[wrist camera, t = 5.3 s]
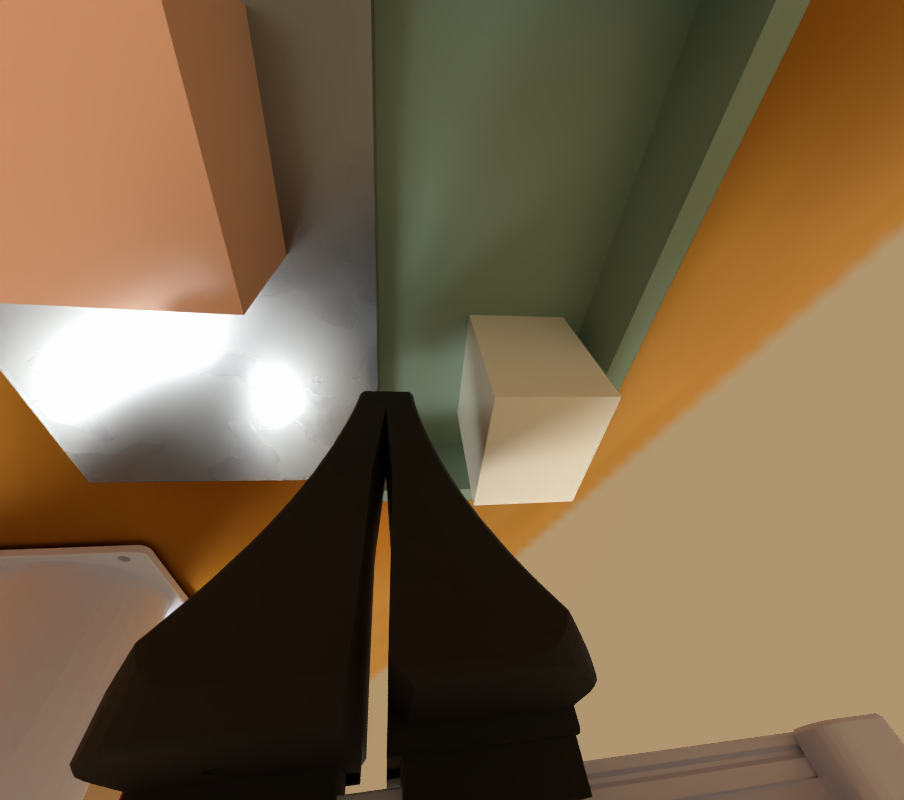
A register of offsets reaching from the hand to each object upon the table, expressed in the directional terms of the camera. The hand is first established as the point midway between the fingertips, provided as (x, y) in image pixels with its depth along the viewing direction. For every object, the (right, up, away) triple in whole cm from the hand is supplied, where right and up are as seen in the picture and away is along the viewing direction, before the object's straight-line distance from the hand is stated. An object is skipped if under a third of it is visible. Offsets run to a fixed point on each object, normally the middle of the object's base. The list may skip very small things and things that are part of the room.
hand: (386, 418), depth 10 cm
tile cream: (+2, 0, 0) cm, 3 cm away
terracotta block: (-4, +5, -4) cm, 7 cm away
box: (+3, +4, +1) cm, 5 cm away
